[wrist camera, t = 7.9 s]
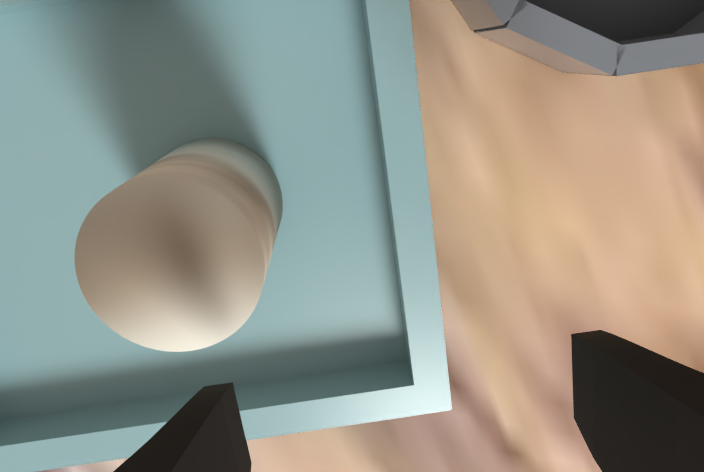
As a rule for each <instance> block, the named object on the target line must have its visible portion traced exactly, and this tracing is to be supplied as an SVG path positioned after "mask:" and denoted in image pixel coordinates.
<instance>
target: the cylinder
mask: <svg viewBox="0 0 704 472" xmlns="http://www.w3.org/2000/svg"><path fill="white" fill-rule="evenodd" d="M282 212H283V200H282V193H281V189H280V185H279V183H278V180H277V178H276V176H275V174H274V173H273V171H272V169H271V168H270V167H269V165H268V164H267V163H266V162H265V161H264V160H263V159H262V158H261V157H260V156H259V155H258V154H257V153H255V152H254V151H253V150H251V149H249V148H248V147H246V146H244V145H242V144H240V143H237V142H234V141H231V140H227V139H221V138H203V139H198V140H194V141H191V142H188V143H185V144H183V145H182V146H180V147H178V148H176V149H175V150H173V151H172V152H170V153H169V154H167V155H166V156H164V157H163V158H161V159H160V160H158V161H157V162H155V163H154V164H152V165H150V166H149V167H147V168H146V169H144V170H143V171H141V172H140V173H138V174H137V175H135V176H134V177H132V178H131V179H129V180H128V181H126V182H125V183H123V184H122V185H120V186H119V187H117V188H116V189H114V190H113V191H111V192H110V193H108V194H107V195H106V196H104V197H103V198H102V199H101V200H100V201H99V202H98V203H97V204H96V205H94V206H93V208H92V209H91V210H90V212H89V213H88V214H87V216H86V218H85V219H84V221H83V223H82V225H81V227H80V230H79V233H78V236H77V240H76V245H75V257H74V261H75V271H76V275H77V279H78V283H79V286H80V288H81V291H82V293H83V295H84V297H85V299H86V301H87V303H88V304H89V306H90V307H91V308H92V310H93V311H94V313H95V314H96V315H97V316H98V317H99V318H100V319H101V320H102V321H103V322H104V323H105V324H106V325H107V326H108V327H109V328H111V329H112V330H113V331H115V332H116V333H118V334H119V335H121V336H122V337H124V338H126V339H128V340H130V341H131V342H133V343H136V344H139V345H141V346H144V347H147V348H151V349H155V350H161V351H168V352H184V351H193V350H198V349H203V348H206V347H209V346H212V345H214V344H216V343H218V342H221V341H223V340H224V339H226V338H227V337H229V336H230V335H232V334H233V333H235V332H236V331H237V330H238V329H239V328H240V327H241V326H242V325H243V324H244V323H245V322H246V321H247V320H248V318H249V317H250V315H251V314H252V312H253V311H254V309H255V307H256V305H257V303H258V301H259V298H260V295H261V292H262V288H263V285H264V281H265V277H266V274H267V270H268V266H269V263H270V259H271V255H272V251H273V248H274V244H275V240H276V237H277V233H278V229H279V226H280V222H281V218H282Z"/></svg>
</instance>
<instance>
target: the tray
mask: <svg viewBox="0 0 704 472" xmlns="http://www.w3.org/2000/svg"><path fill="white" fill-rule="evenodd" d="M203 138H221V139H227V140H231V141H234V142H237V143H240V144H242V145H244V146H246V147H248V148H249V149H251V150H253V151H254V152H255V153H257V154H258V155H259V156H260V157H261V158H262V159H263V160H264V161H265V162H266V163H267V164H268V165H269V167H270V168H271V169H272V171H273V173H274V174H275V176H276V178H277V180H278V183H279V185H280V189H281V193H282V200H283V212H282V218H281V222H280V226H279V229H278V233H277V237H276V240H275V244H274V248H273V251H272V255H271V259H270V263H269V266H268V270H267V274H266V277H265V281H264V285H263V288H262V292H261V295H260V298H259V301H258V303H257V305H256V307H255V309H254V311H253V312H252V314H251V315H250V317H249V318H248V320H247V321H246V322H245V323H244V324H243V325H242V326H241V327H240V328H239V329H238V330H237V331H236V332H235V333H233V334H232V335H230V336H229V337H227V338H226V339H224V340H223V341H221V342H218V343H216V344H214V345H212V346H209V347H206V348H203V349H198V350H193V351H184V352H168V351H161V350H155V349H151V348H147V347H144V346H141V345H139V344H136V343H133V342H131V341H130V340H128V339H126V338H124V337H122V336H121V335H119V334H118V333H116V332H115V331H113V330H112V329H111V328H109V327H108V326H107V325H106V324H105V323H104V322H103V321H102V320H101V319H100V318H99V317H98V316H97V315H96V314H95V313H94V311H93V310H92V308H91V307H90V306H89V304H88V303H87V301H86V299H85V297H84V295H83V293H82V291H81V288H80V286H79V283H78V279H77V275H76V271H75V261H74V257H75V245H76V240H77V236H78V233H79V230H80V227H81V225H82V223H83V221H84V219H85V218H86V216H87V214H88V213H89V212H90V210H91V209H92V208H93V206H94V205H96V204H97V203H98V202H99V201H100V200H101V199H102V198H103V197H104V196H106V195H107V194H108V193H110V192H111V191H113V190H114V189H116V188H117V187H119V186H120V185H122V184H123V183H125V182H126V181H128V180H129V179H131V178H132V177H134V176H135V175H137V174H138V173H140V172H141V171H143V170H144V169H146V168H147V167H149V166H150V165H152V164H154V163H155V162H157V161H158V160H160V159H161V158H163V157H164V156H166V155H167V154H169V153H170V152H172V151H173V150H175V149H176V148H178V147H180V146H182V145H183V144H185V143H188V142H191V141H194V140H198V139H203ZM231 382H233V386H234V390H235V394H236V399H237V403H238V407H239V412H240V416H241V420H242V425H243V429H244V433H245V438H246V440H252V439H259V438H266V437H273V436H279V435H286V434H293V433H300V432H307V431H313V430H320V429H327V428H334V427H340V426H347V425H354V424H361V423H368V422H374V421H381V420H388V419H395V418H401V417H408V416H415V415H422V414H429V413H435V412H442V411H449V410H452V405H451V396H450V386H449V377H448V367H447V357H446V348H445V338H444V329H443V319H442V310H441V300H440V291H439V281H438V272H437V262H436V252H435V243H434V233H433V224H432V214H431V205H430V195H429V186H428V176H427V167H426V157H425V147H424V138H423V128H422V119H421V109H420V100H419V90H418V81H417V71H416V62H415V52H414V42H413V33H412V23H411V14H410V4H409V0H0V472H35V471H42V470H49V469H56V468H62V467H69V466H76V465H83V464H89V463H96V462H103V461H110V460H117V459H123V458H129V457H130V456H132V455H133V454H134V453H135V452H136V451H137V450H138V449H139V448H141V447H142V446H143V445H144V444H145V443H146V442H147V441H148V440H149V439H150V438H151V437H152V436H153V435H154V434H155V433H156V432H158V431H159V430H160V429H161V428H162V427H163V426H164V425H165V424H166V423H167V422H168V421H169V420H170V419H171V418H172V417H173V416H174V415H175V414H176V413H177V412H178V411H179V410H180V409H181V408H182V407H183V406H184V405H185V404H186V403H187V402H188V401H189V400H190V399H191V398H192V397H193V396H194V395H195V394H196V393H197V392H198V391H199V390H201V389H202V388H203V387H204V386H210V385H217V384H224V383H231Z"/></svg>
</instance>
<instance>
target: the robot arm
mask: <svg viewBox="0 0 704 472" xmlns="http://www.w3.org/2000/svg"><path fill="white" fill-rule="evenodd" d="M571 336H572V370H573V404H574V419H575V421H576V423H577V425H578V427H579V429H580V431H581V434H582V436H583V438H584V440H585V442H586V444H587V446H588V448H589V450H590V452H591V454H592V456H593V458H594V459H595V461H596V462H597V464H598V466H599V467H600V469H601V470H602V472H704V373H702V372H699V371H697V370H694V369H692V368H690V367H687V366H685V365H682V364H680V363H678V362H675V361H673V360H671V359H668V358H666V357H664V356H662V355H659V354H657V353H655V352H653V351H650V350H648V349H646V348H644V347H641V346H639V345H637V344H635V343H632V342H630V341H628V340H625V339H623V338H621V337H618V336H616V335H613V334H611V333H608V332H605V331H602V330H597V331H590V332H583V333H576V334H571ZM114 472H251V459H250V455H249V451H248V446H247V442H246V438H245V433H244V429H243V425H242V420H241V416H240V412H239V407H238V403H237V399H236V394H235V390H234V386H233V382H231V383H224V384H217V385H210V386H204V387H203V388H202V389H201V390H199V391H198V392H197V393H196V394H195V395H194V396H193V397H192V398H191V399H190V400H189V401H188V402H187V403H186V404H185V405H184V406H183V407H182V408H181V409H180V410H179V411H178V412H177V413H176V414H175V415H174V416H173V417H172V418H171V419H170V420H169V421H168V422H167V423H166V424H165V425H164V426H163V427H162V428H161V429H160V430H159V431H158V432H156V433H155V434H154V435H153V436H152V437H151V438H150V439H149V440H148V441H147V442H146V443H145V444H144V445H143V446H142V447H141V448H139V449H138V450H137V451H136V452H135V453H134V454H133V455H132V456H130V457H129V458H128V459H127V460H126V461H125V462H124V463H123V464H122V465H120V466H119V467H118V468H117V469H116V470H115V471H114Z"/></svg>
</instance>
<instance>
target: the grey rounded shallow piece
mask: <svg viewBox="0 0 704 472" xmlns="http://www.w3.org/2000/svg"><path fill="white" fill-rule="evenodd" d="M451 1H452V2H453V4H454V5H455V7H456V8H457V10H458V11H459V13H460V14H461V16H462V17H463V19H464V20H465V22H466V23H467V25H468V26H469V27H470V29H471V30H476V31H475V34H478V35H480V36H482V37H484V38H487V39H489V40H491V41H494V42H496V43H498V44H500V45H503V46H505V47H507V48H509V49H512V50H514V51H516V52H518V53H521V54H523V55H525V56H527V57H530V58H532V59H534V60H537V61H539V62H541V63H543V64H546V65H548V66H550V67H552V68H555V69H557V70H559V71H561V72H567V73H579V74H594V75H609V76H620V75H627V74H634V73H640V72H647V71H654V70H661V69H667V68H674V67H681V66H687V65H694V64H701V63H704V0H451Z"/></svg>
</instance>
